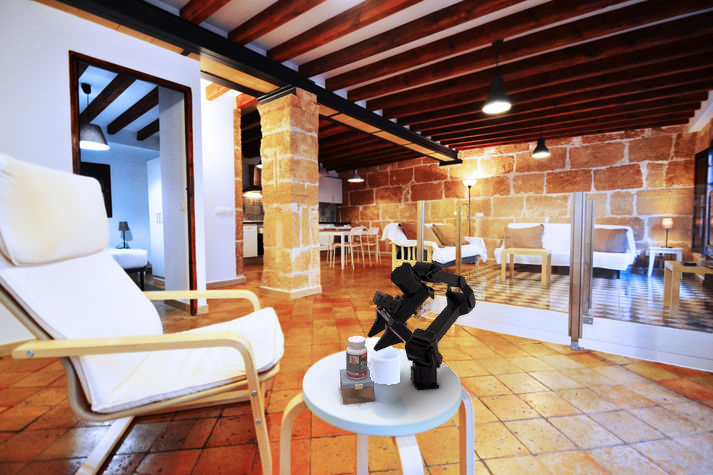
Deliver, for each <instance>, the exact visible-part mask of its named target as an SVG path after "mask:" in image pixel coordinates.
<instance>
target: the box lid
mask: <svg viewBox="0 0 713 475" xmlns="http://www.w3.org/2000/svg"><path fill="white" fill-rule="evenodd" d="M370 370H371V369H370V368H369V367H368V366H367V376H366V377H365V378H363V379H360V380H353V379H350V378H349V377H347V374H346V368H343V369H339V378H340V377H341V382H342V387H343V389H346V388H355V389H363V387H367V386H374V387H375V380H374V381H372V380H371V377H370V372H371V371H370Z"/></svg>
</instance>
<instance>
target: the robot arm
mask: <svg viewBox="0 0 713 475" xmlns="http://www.w3.org/2000/svg"><path fill="white" fill-rule="evenodd" d="M414 263H415V264H414V265H412V263H410V262H408V261H403V262H402V264H401V265H398V266H396V267H395V268H394V269H393V270H392V271H391V274H390V275H389V276H390V281H391V282H392V284H393V285H394V286H396V288H397V289H398V290H399V291H400V292H402V294H396V295H395V297H394V296H393V295H392V294H389V293H384V292H381V291H379V290H376V291H375V293H374V296H373V298H372V300H371V301H372V302H373V305H375V308H376V309H375V319H374V321H373V323H372V326H371V327H370V329H369V331H368V333H367V337H368V338H369V339H371V338H373V337H375V336H376V335H378V334H380V333H382V332H383V334H382V335H381V336H380V337H379V339H378V340H377V341H376V343H375V345H374V347H373V351H375V352H379V351H381V350H384V349H387V348H389V347H392V346H395V345H398V344H404V343H405V344H404V352H405V355H406V358H407V360H408V361H410V362H411V366H410V381H411V382H412V385H413V386H414V387H415V388H416V390H418V391H420V390H429V389H430V390H431V389H440V384H439V383H438V369H440V368H441V365H442V363H443V359H444V356H443V355H442V354H441V352H440V351H439V343H440V341H441V340H442V339H443V338H444V336H446V334H447V333H448V331H449V330H450V329H451V328H452V326H453V325H454V324H455V322H456V321H457V320H458V319H459V318H460V317H462V316H465V315H468V314H469V313H470V312H472V311H473V310H474V308H476V305H477V304H476V303H477V300H476V297H475V291H474V290H473V288H471V286H470V285H469V284H468V282H467V281H466V278H465V276H464V275H461V274H457V273H454V272H449V271H447V270H444V269H443V266H442V265H440V264H438V263H437V262H428V261H416V262H414ZM426 283H428V284H434V285H435V284H443V285H447V289H446V290H445V297H446V306H445V307H444V308H443V309H442V310H441V312H440V313H438V315H437V316H436V318H434V319H433V321H432V322H431V323H430V324H429V325H428V326H427V327H426V328H425V329H423V328H419V327H417V328H415V329H414V330H413V331H412V330H411V329H410V328H409V327H408V323H407V321H408V320H409V319H410V318H411V317H412V316H413V315H414V316H418V314H419V312H418V310H419V308H420V307H422V305H423V304H424V303H425V302H426V301H427V300H428V299H429V298H430V299H431V300H434V299H435V292H436V290H435V289H434V287H432V286H428V285H427V284H426ZM452 287H453V288H459V289H460V291H455V290H452Z"/></svg>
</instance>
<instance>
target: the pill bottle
mask: <svg viewBox="0 0 713 475" xmlns="http://www.w3.org/2000/svg"><path fill="white" fill-rule="evenodd" d="M347 344H348V346H347V347H346V349H345V357H346V358H345V363H346V368H345V369H346V374H347V377H349V378H350V379H353V380H360V379H363V378H365V377H366V376H367V367H368V347H367V346H366V337H364V336H361V335H353V336H350V337H348V339H347Z"/></svg>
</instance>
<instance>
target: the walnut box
mask: <svg viewBox="0 0 713 475" xmlns="http://www.w3.org/2000/svg"><path fill="white" fill-rule="evenodd" d="M339 383H340V384H339V386H340V387H339V388H340V393H341V399H342V404H343V405H349V404H350V405H351V404H358V403H359V404H361V403H369V402H375V385H374V386H367V387H363V389H355V388H346V389H343V387H342V382H341V377H340V376H339Z"/></svg>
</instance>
